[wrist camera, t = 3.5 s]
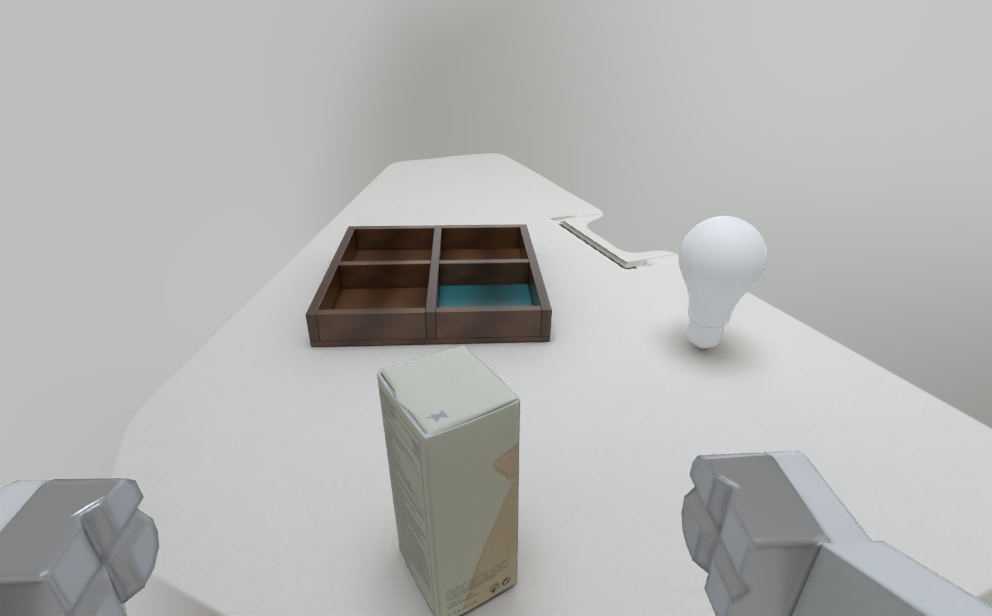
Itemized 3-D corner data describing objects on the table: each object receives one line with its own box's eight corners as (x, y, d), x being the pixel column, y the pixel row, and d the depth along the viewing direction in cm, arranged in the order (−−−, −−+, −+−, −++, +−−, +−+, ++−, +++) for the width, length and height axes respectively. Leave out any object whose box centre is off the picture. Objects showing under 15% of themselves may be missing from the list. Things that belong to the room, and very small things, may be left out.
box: (519, 585, 27) (528, 402, 21) (438, 629, 25) (425, 441, 19) (467, 509, 31) (464, 339, 25) (394, 542, 29) (373, 366, 23)
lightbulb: (649, 333, 47) (669, 208, 42) (710, 323, 49) (738, 202, 43) (690, 373, 42) (720, 237, 37) (758, 361, 44) (796, 229, 38)
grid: (311, 346, 45) (305, 314, 43) (351, 251, 62) (348, 226, 60) (549, 341, 46) (552, 309, 44) (525, 249, 63) (526, 224, 61)
